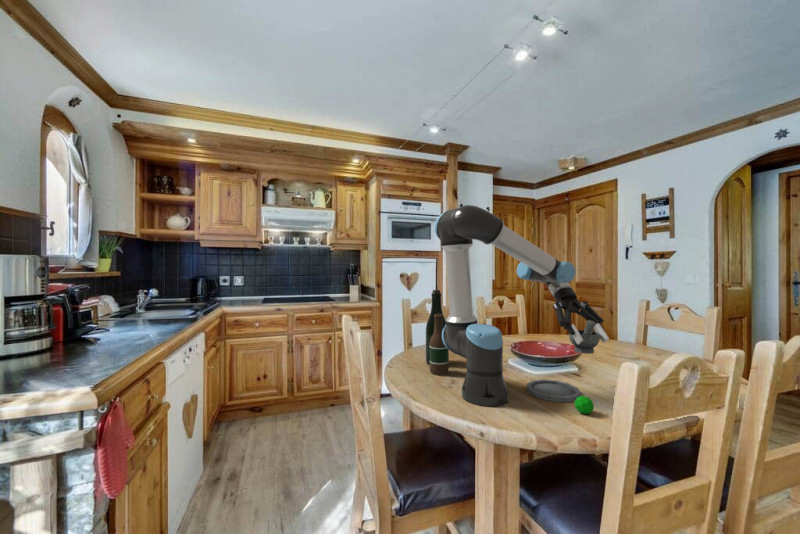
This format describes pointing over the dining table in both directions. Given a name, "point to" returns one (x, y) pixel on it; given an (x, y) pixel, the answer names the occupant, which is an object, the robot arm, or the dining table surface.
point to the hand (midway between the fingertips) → (593, 341)
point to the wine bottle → (435, 309)
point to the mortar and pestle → (586, 339)
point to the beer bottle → (438, 349)
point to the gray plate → (553, 390)
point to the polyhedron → (584, 404)
